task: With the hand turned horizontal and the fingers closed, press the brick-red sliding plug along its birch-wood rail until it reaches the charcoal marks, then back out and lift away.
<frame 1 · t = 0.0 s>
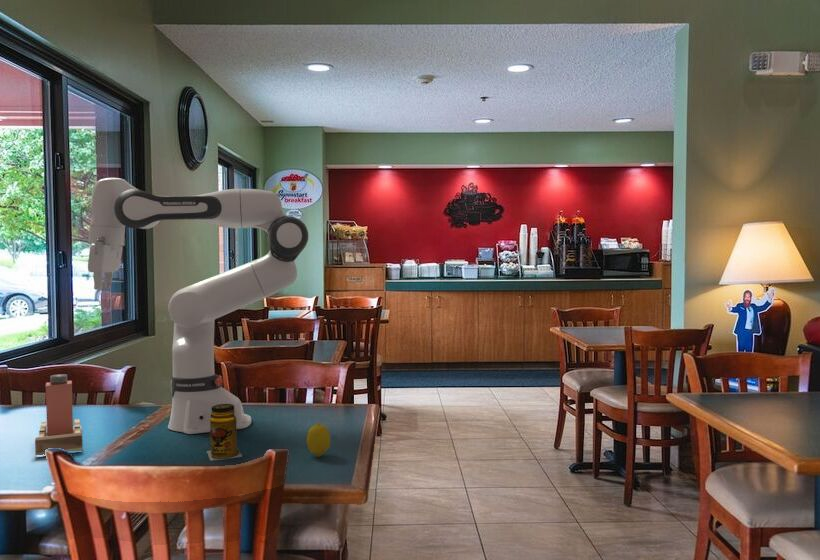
hand: (102, 288, 185), 39 cm above the table, tool pointing down, fingers open, 8 cm apart
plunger: (59, 403, 180), point 9 cm above the table, slide at 0.0 cm
lemon: (318, 457, 161), on the table
condiment: (224, 455, 163), on the table
press base: (60, 442, 175), on the table
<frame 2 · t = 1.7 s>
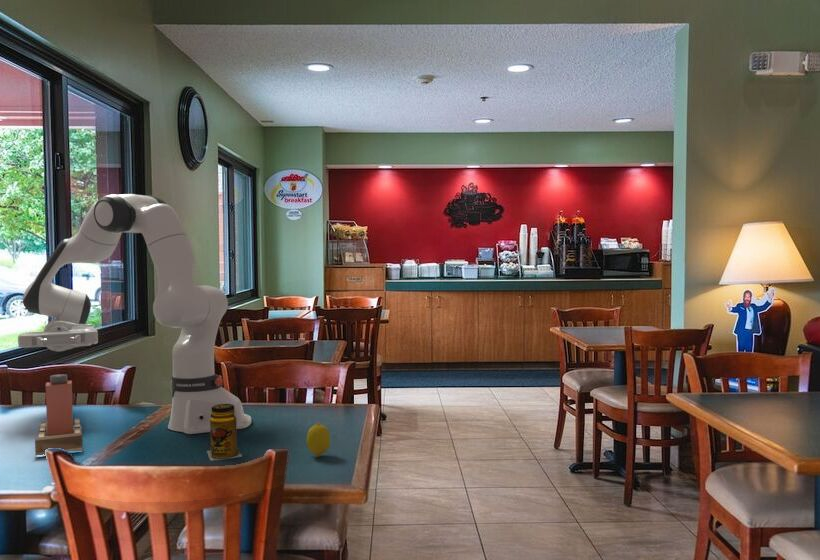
hand: (58, 341, 189), 24 cm above the table, tool horizontal, fingers open, 6 cm apart
nothing on the table moved.
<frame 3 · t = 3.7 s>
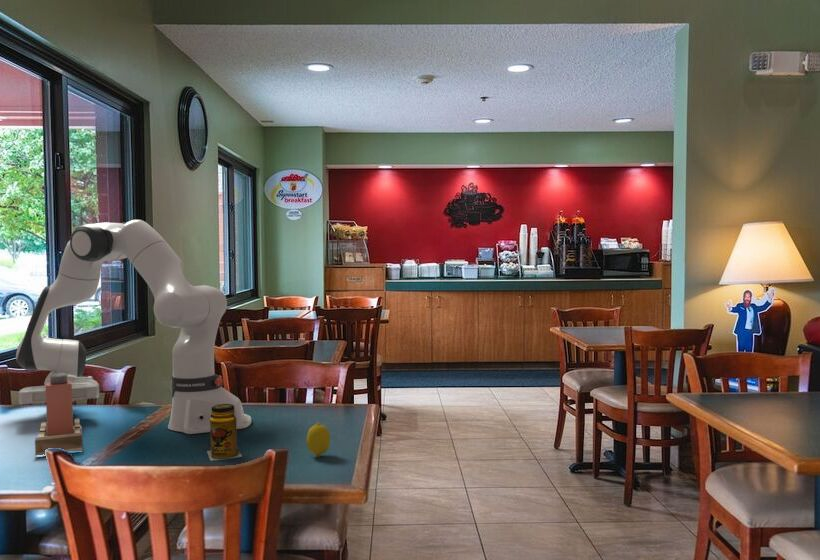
hand: (59, 398, 186), 9 cm above the table, tool horizontal, fingers closed
nothing on the table moved.
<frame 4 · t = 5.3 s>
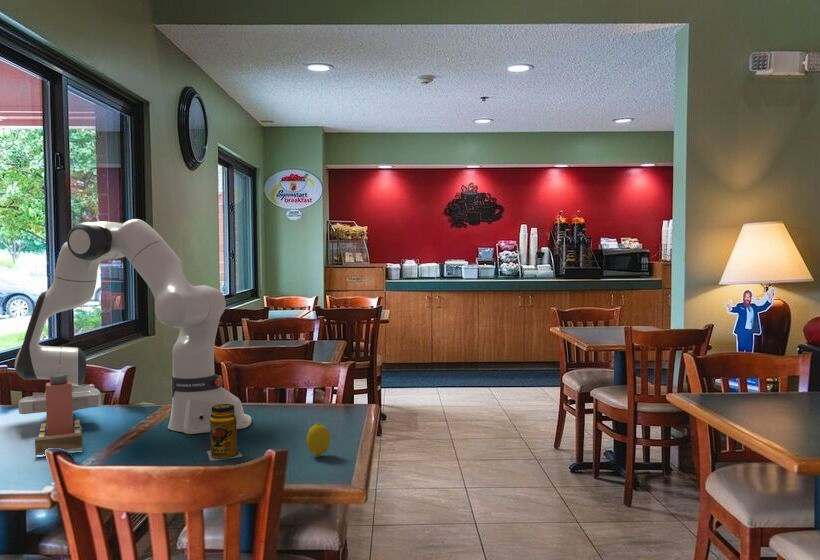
hand: (60, 407, 182), 7 cm above the table, tool horizontal, fingers closed, pressing on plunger
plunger: (59, 404, 179), point 9 cm above the table, slide at 0.5 cm, touching gripper
everything else where it was.
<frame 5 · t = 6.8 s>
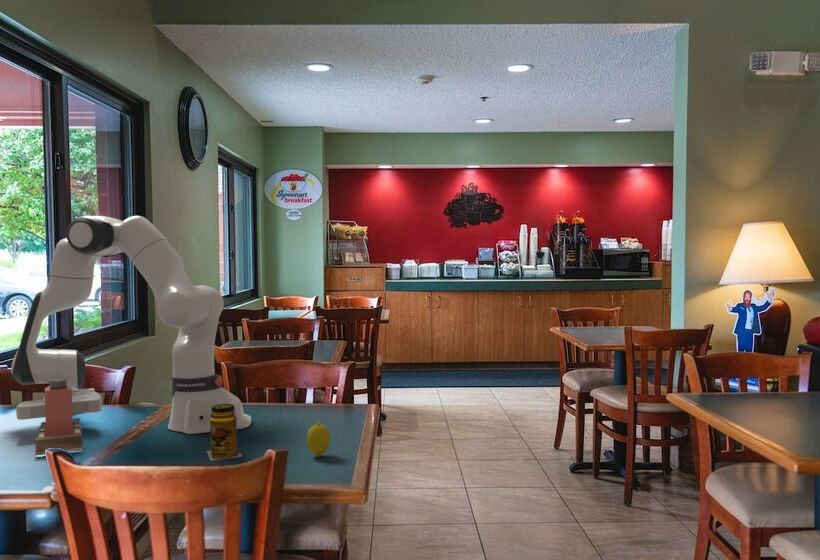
hand: (59, 413, 176), 7 cm above the table, tool horizontal, fingers closed, pressing on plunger
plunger: (59, 409, 173), point 9 cm above the table, slide at 7.3 cm, touching gripper
everything else where it was.
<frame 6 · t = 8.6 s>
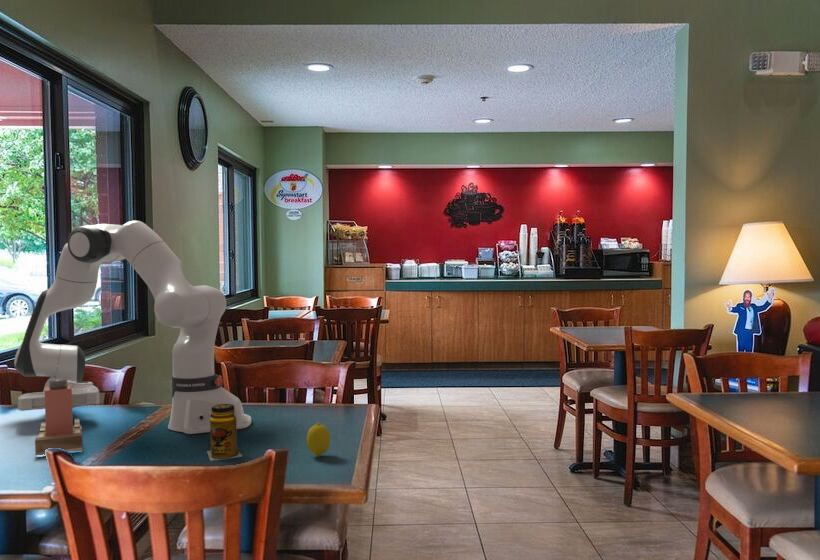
hand: (59, 404, 184), 8 cm above the table, tool horizontal, fingers closed
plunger: (59, 409, 173), point 9 cm above the table, slide at 7.4 cm
everything else where it was.
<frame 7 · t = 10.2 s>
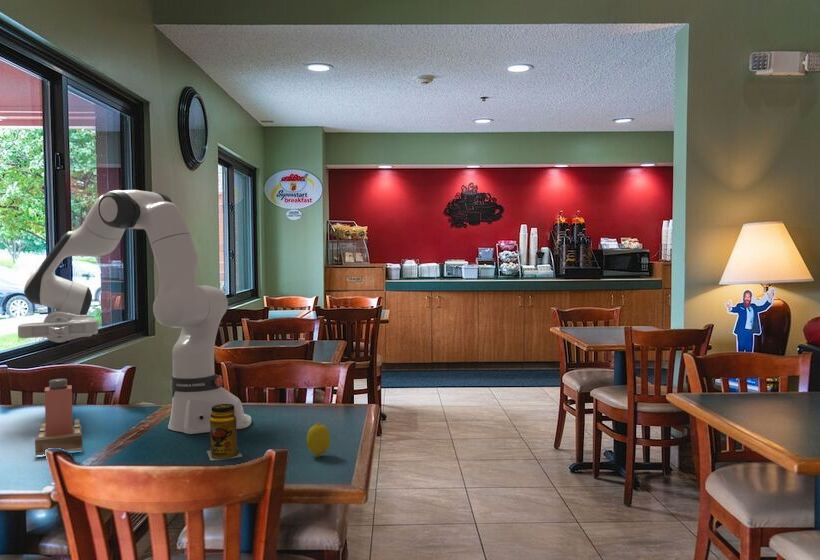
hand: (58, 331, 188), 27 cm above the table, tool horizontal, fingers closed
nothing on the table moved.
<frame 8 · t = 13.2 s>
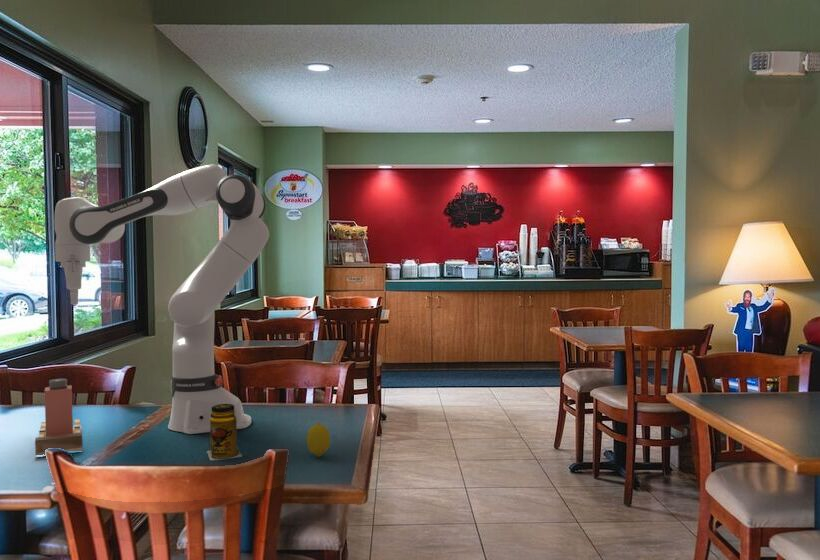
hand: (74, 304, 193), 34 cm above the table, tool pointing down, fingers closed
nothing on the table moved.
at the end: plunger slide at 7.4 cm; condiment moved 0.3 cm from its start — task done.
